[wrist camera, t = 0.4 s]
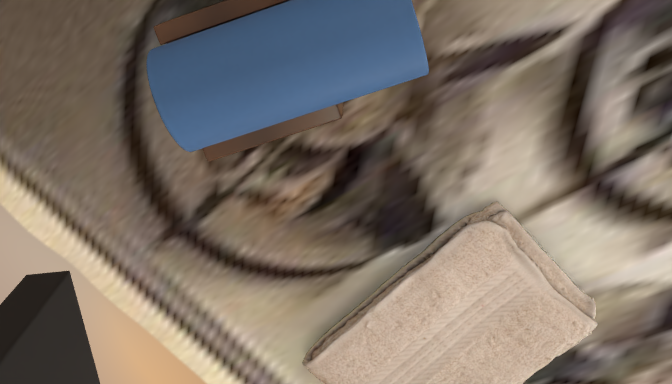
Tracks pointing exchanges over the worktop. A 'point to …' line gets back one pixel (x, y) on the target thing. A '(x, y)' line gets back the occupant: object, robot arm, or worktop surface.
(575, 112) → the worktop surface
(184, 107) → the tube
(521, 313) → the washcloth
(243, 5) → the cradle
